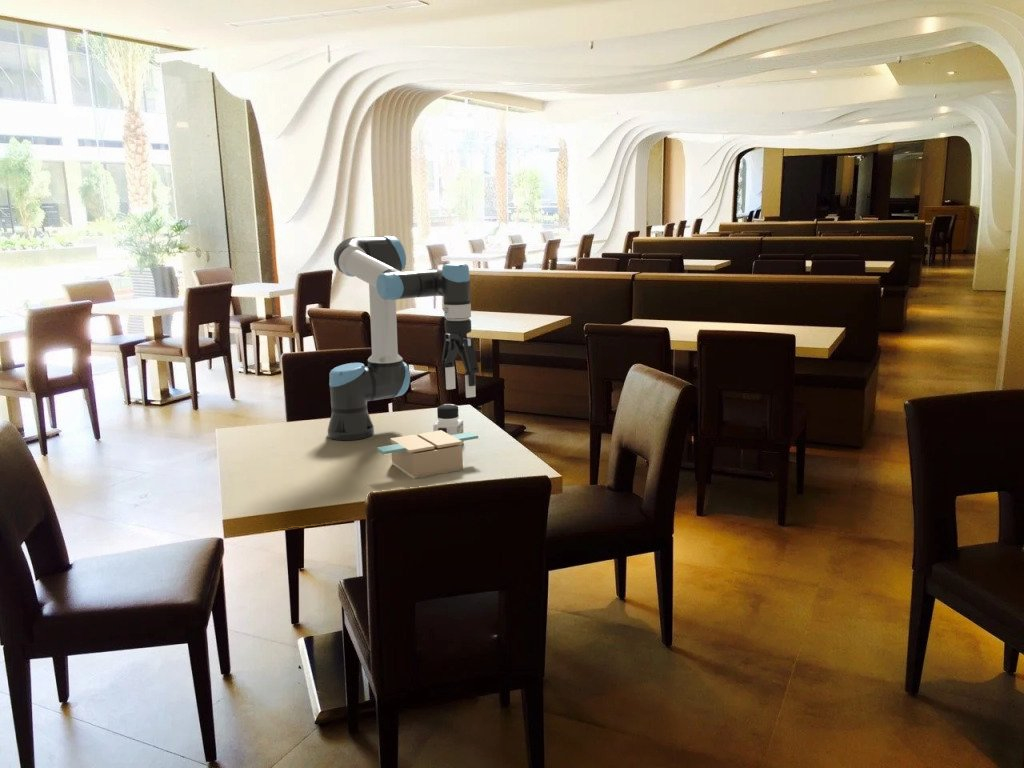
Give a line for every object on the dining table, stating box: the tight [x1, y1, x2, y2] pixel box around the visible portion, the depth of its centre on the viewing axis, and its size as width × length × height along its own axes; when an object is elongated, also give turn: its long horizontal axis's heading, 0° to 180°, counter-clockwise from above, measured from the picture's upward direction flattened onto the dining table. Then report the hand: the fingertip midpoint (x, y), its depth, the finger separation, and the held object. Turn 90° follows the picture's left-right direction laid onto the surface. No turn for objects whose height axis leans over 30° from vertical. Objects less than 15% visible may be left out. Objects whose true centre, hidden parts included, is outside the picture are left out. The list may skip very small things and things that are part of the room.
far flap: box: [417, 430, 479, 448], centre depth 239 cm, size 14×14×1 cm
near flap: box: [376, 434, 435, 456], centre depth 232 cm, size 14×14×1 cm
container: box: [432, 403, 465, 446], centre depth 257 cm, size 8×8×13 cm
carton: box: [390, 441, 464, 480], centre depth 236 cm, size 17×15×7 cm
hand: (460, 393), depth 235 cm, fingers open, 12 cm apart
